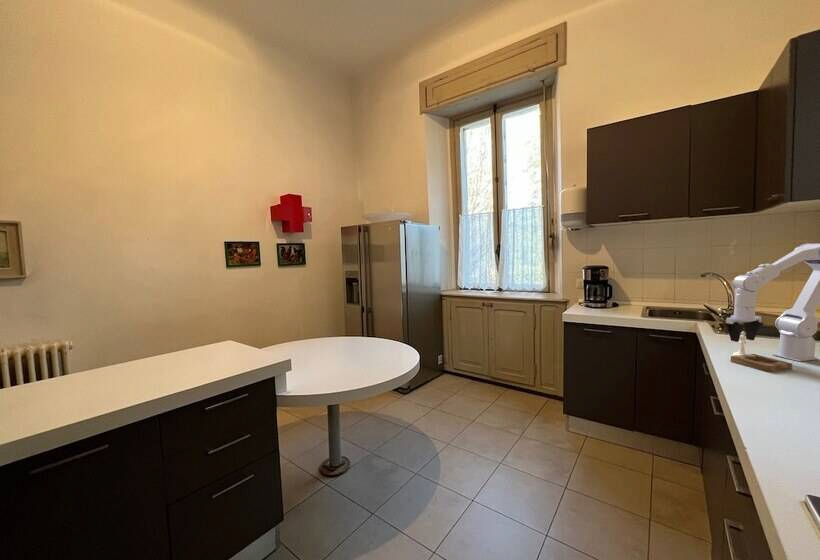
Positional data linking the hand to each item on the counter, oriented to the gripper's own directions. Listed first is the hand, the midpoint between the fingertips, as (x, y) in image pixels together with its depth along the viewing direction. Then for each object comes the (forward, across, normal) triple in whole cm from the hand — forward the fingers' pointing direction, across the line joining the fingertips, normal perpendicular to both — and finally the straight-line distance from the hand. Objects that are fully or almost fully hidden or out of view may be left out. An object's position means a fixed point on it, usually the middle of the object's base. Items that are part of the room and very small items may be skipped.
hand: (742, 340), depth 127 cm
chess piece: (+6, 0, 0) cm, 7 cm away
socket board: (+6, +5, +9) cm, 12 cm away
